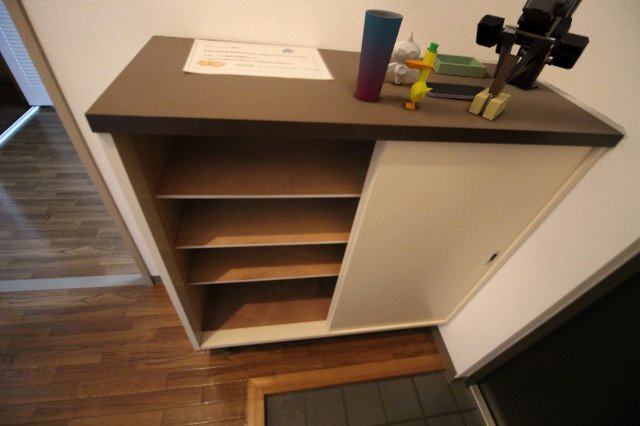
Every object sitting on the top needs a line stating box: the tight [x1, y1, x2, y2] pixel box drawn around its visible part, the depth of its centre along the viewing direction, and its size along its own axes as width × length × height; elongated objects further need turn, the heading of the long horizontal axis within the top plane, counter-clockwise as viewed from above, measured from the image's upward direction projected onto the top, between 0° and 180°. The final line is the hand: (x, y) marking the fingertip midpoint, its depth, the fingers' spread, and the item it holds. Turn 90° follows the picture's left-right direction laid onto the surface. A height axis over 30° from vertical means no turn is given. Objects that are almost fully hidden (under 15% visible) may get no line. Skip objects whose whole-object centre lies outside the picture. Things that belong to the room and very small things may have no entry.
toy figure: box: [404, 41, 440, 110], centre depth 55 cm, size 7×4×12 cm, turn 83°
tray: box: [432, 53, 488, 79], centre depth 80 cm, size 13×9×3 cm
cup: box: [355, 8, 404, 103], centre depth 56 cm, size 7×7×15 cm
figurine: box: [386, 31, 422, 85], centre depth 65 cm, size 12×5×11 cm, turn 83°
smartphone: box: [425, 81, 487, 101], centre depth 67 cm, size 7×1×15 cm
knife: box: [481, 53, 521, 115], centre depth 57 cm, size 3×2×11 cm, turn 137°
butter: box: [468, 87, 512, 121], centre depth 60 cm, size 7×5×4 cm
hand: (500, 79), depth 56 cm, fingers closed on knife, 2 cm apart
